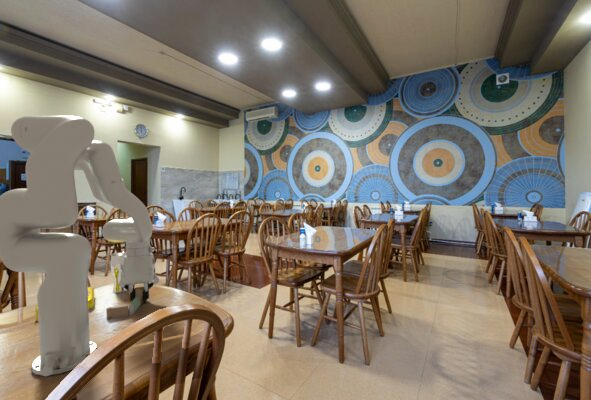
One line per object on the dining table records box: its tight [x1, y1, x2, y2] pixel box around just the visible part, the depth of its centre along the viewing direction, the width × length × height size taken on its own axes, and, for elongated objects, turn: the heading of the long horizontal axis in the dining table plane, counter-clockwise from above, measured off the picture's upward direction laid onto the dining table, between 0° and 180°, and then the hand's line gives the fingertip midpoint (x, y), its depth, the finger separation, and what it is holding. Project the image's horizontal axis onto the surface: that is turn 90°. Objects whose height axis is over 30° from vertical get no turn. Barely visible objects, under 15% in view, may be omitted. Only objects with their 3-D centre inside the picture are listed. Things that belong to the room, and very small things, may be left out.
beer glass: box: [110, 251, 129, 294], centre depth 114 cm, size 7×7×15 cm
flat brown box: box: [105, 304, 135, 320], centre depth 96 cm, size 19×19×4 cm
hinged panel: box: [130, 285, 145, 314], centre depth 98 cm, size 10×3×6 cm, turn 14°
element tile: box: [35, 286, 95, 322], centre depth 98 cm, size 15×15×5 cm
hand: (139, 301), depth 101 cm, fingers closed on hinged panel, 3 cm apart
